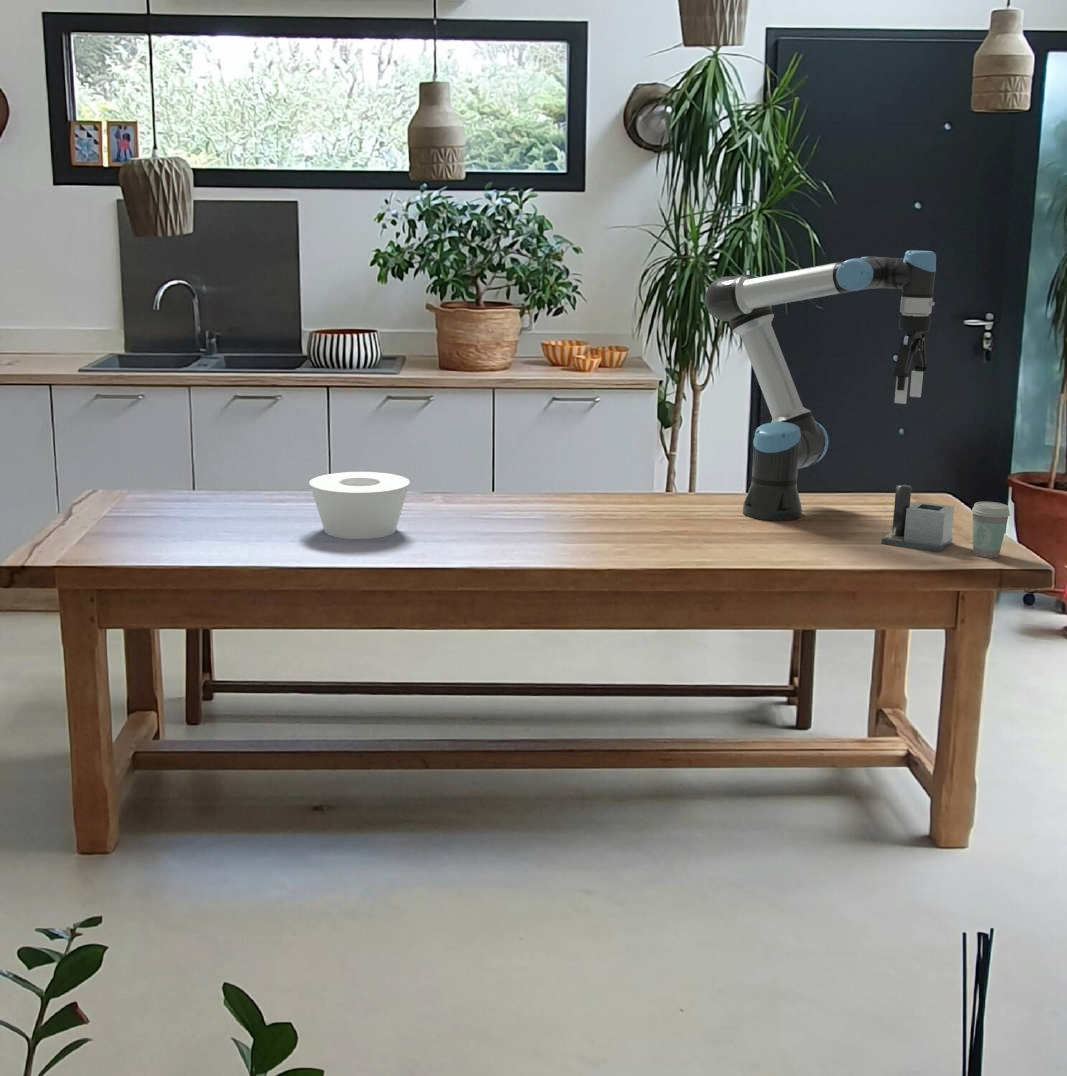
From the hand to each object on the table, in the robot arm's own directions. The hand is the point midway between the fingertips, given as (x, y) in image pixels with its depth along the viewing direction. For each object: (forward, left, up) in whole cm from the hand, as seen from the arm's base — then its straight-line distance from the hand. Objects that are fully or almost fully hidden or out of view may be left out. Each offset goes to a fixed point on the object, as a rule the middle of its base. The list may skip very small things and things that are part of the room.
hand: (907, 400), depth 338 cm
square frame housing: (+10, -18, -32) cm, 38 cm away
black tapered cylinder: (+6, -18, -30) cm, 36 cm away
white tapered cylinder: (-107, -85, -32) cm, 140 cm away
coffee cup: (+27, -19, -32) cm, 46 cm away
